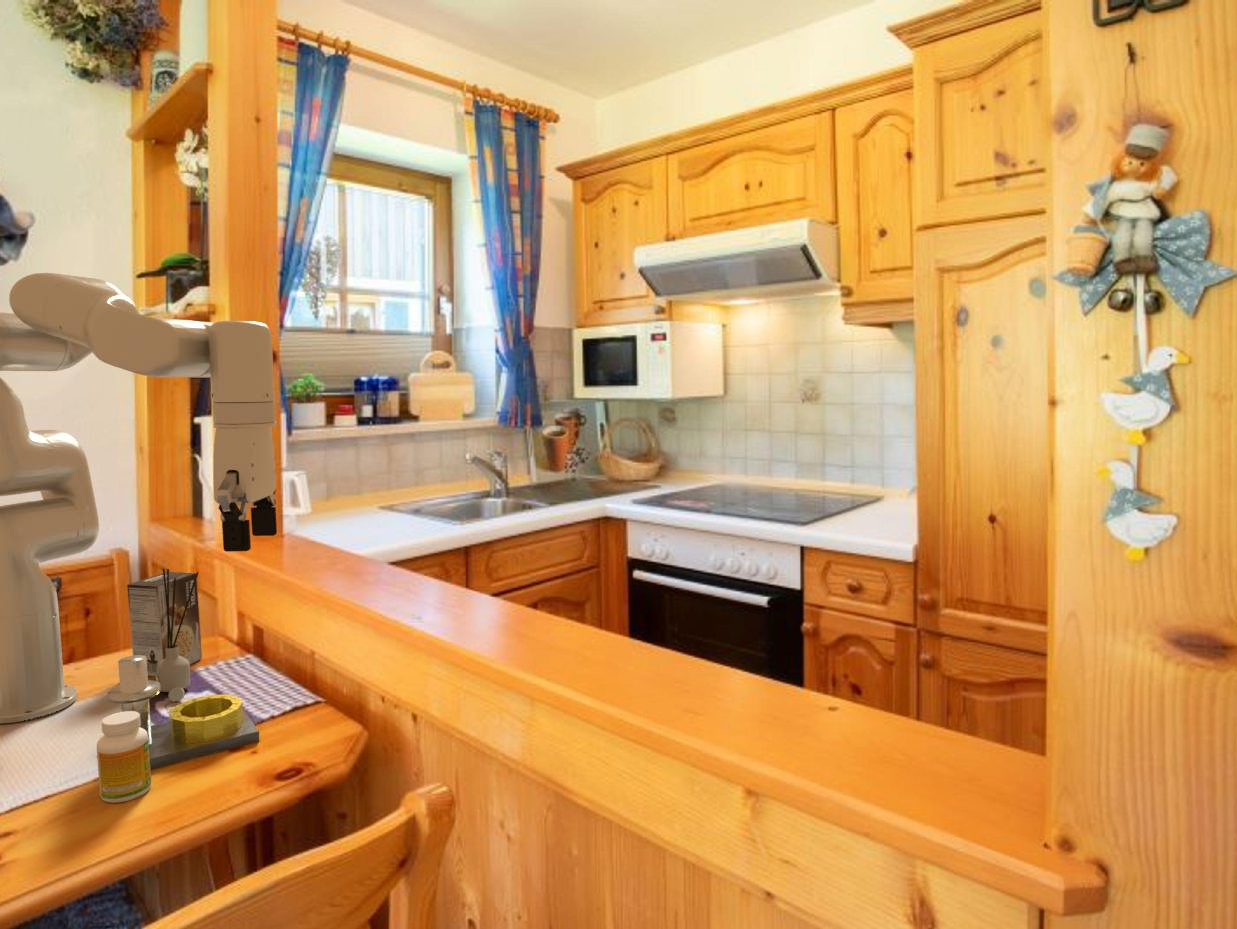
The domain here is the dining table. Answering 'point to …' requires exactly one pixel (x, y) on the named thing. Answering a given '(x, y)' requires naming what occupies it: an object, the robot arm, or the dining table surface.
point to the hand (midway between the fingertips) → (251, 542)
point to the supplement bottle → (123, 758)
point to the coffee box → (164, 618)
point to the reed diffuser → (173, 655)
